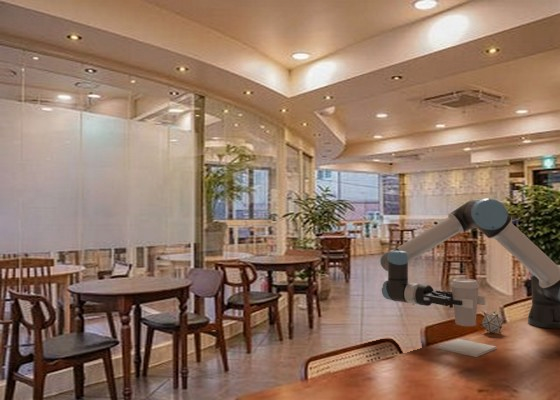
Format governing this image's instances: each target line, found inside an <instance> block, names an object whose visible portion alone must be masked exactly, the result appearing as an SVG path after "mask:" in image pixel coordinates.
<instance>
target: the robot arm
mask: <svg viewBox="0 0 560 400" xmlns="http://www.w3.org/2000/svg"><path fill="white" fill-rule="evenodd" d="M447 216H448V217H446V218H444V219H443V220H442V221H440V222H438V223H436V224H434V225H433V226H431V227H430V228H428V229H425V231H423V232H421V233H420V234H418V235H417V236H414V237H413V238H411V239H410V240H408V241H406V242H405V243H403V244H402V245H400V246H398V247H395V248H394V249H393V250H388V252H385V253H383V254H382V255H381V257H380V260H379V261H380V265H381V267H382V269H384V270H385V271H386V272H387V280H385V281H384V282H383V284H382V287H381V294H382V297H384V299H386V300H389V301H393V302H400V303H407V304H411V305H412V306H415V305H420V306H425V307H428V306H431V305H432V304H434V305H440V306H445V307H449V309H451V308H452V309H454V306H459V307H465V308H473V300H469V299H461V298H454V300H453V294H452V291H446V290H443V291H442V290H435V291H434V288H433V287H432V286H431V285H430V284H429V285H428V284H422V283H421V284H420V283H415V282H414V283H413V282H409V263H410V262H412V261H414V260H416V259H417V258H418V257H420V256H422V255H423V254H425V253H427V252H429V251H430V250H432V249H433V248H436V247H437V246H439V245H441V244H442V243H444V242H445V241H447V240H449V239H451V238H452V237H454V236H456V235H458V234H461V235H462V234H464V233H466V232H467V231H470V230H473V229H478V230H479V231H480V232H481V233H482V234H484V235H485V236H486V237H487V238H488V239H495V241H497V242H498V243H499V244H500V245H501V246H502V247H504V249H505V250H507V251H508V252H509V254H511V255H512V257H514V258H515V259H517V260H518V262H519V263H520V264H521V265H523V266H524V267H525V268H526V269H527V270H528V271H529V272H530V274H531V275H530V279H531V280H530V281H531V282H530V283H531V285H530V286H531V307H530V310H529V314H528V316H527V323H528V324H529V325H530V324H531V325H530V326H533V325H534V327H537V328H544V329H545V328H546V329H560V264H557V263H555V262H554V261H553V260H552V259H551V258H550V257H549V256H548V255H547V254H546V253H544V251H542V250H541V249H540V248H539V247H538V246H537V245H536V244H535V243H534V242H533V241H532V240H531V239H530V238H529V237H527V235H525V234H524V233H523V232H522V231H521V230H520V229H519V228H518V227H517V226H515V225H514V223H513V221H512V220H513V218H512V216H511V215H510V214H508V211H507V208H506V206H505V205H504V204H503V203H502V202H501V201H499V200H497V199H494V198H489V197H487V198H479V199H477V198H475V199H471V200H469V201H467V202H465V203H464V204H462V205H460V206H459V207H458V208H456V209H454V210H453V211H451V212H449V214H448V215H447ZM477 305H481V306H486V296H481V295H478V299H477Z"/></svg>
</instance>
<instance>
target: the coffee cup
mask: <svg viewBox="0 0 560 400" xmlns="http://www.w3.org/2000/svg"><path fill="white" fill-rule="evenodd" d="M449 285H450V286H449V287H450V288H451V292H452V294H453V300H454V298H461V299H469V300H473V308H465V307H459V306H454V305H453V311H454V320H455V325H458V326H462V327H475V326H476V324H477V313H478V312H477V310H478V304H477V299H478V296H479V289H480V284H479V283H478V280H476V279H470V278H455V279H452V280H451V282H450V284H449Z"/></svg>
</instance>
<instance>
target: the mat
mask: <svg viewBox="0 0 560 400" xmlns="http://www.w3.org/2000/svg"><path fill="white" fill-rule="evenodd" d="M436 348H437V349H439V350H443V351H447V352H451V353H455V354H461V355H464V356H470V357H474V358H478V357H480V356H482V355H485V354H487V353H491V352H492V351H495V350H497V346H496V345H491V344H486V343H480V342H476V341H471V340H466V339H461V338H457V339H454V340H451V341H448V342H446V343H443V344H440V345H437V347H436Z"/></svg>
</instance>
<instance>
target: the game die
mask: <svg viewBox="0 0 560 400" xmlns="http://www.w3.org/2000/svg"><path fill="white" fill-rule="evenodd" d="M483 314H484V316H483V318H482V320H481V323H479V324H478V325H479V326H482V328H484V329H485V330H486V332H489V335H491V334H492V333H493V334H494V333H499V334H502V332H501V329H502V327H503V324H504V323H505V322H506V319H505V320H503V319H502V318H501V317H499V314H498V313H496V311H493V312H492V313H491V312H490V313H486V312H483Z"/></svg>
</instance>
